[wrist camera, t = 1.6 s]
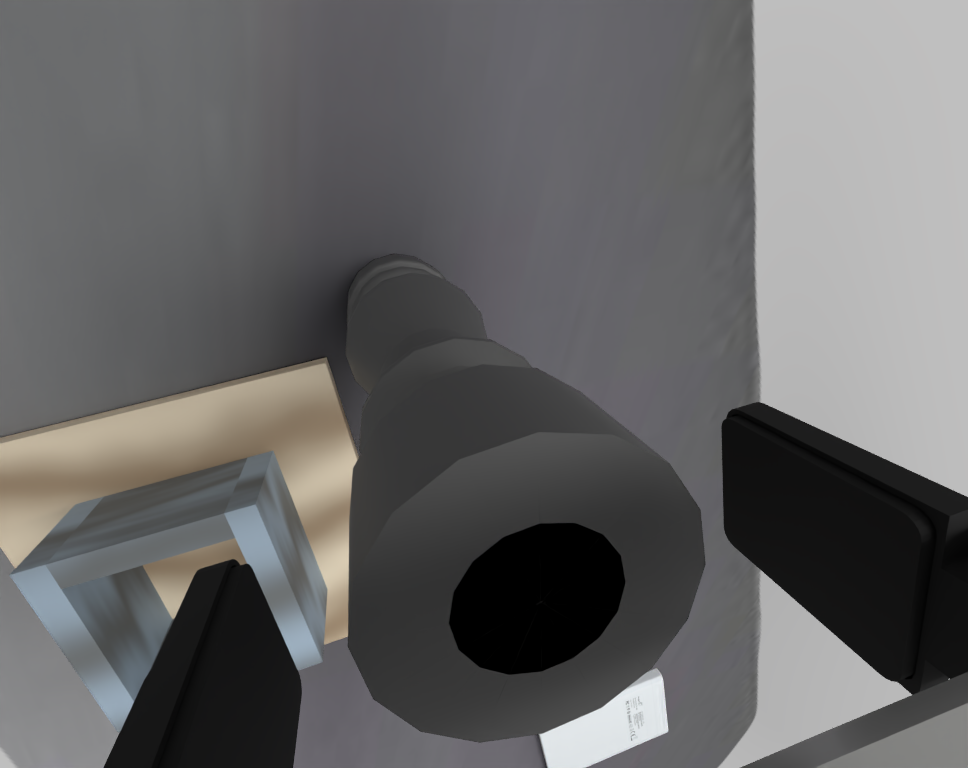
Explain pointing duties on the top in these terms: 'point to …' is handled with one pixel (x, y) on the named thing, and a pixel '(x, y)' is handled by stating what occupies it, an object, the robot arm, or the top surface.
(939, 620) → the robot arm
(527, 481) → the candle holder
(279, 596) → the socket board
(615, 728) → the external hard drive
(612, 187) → the top surface
